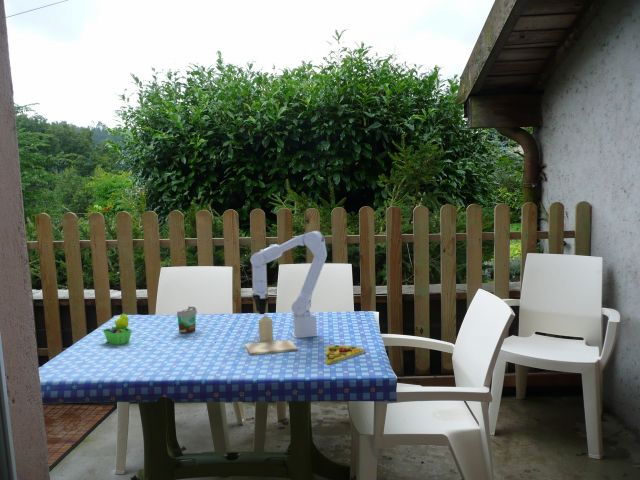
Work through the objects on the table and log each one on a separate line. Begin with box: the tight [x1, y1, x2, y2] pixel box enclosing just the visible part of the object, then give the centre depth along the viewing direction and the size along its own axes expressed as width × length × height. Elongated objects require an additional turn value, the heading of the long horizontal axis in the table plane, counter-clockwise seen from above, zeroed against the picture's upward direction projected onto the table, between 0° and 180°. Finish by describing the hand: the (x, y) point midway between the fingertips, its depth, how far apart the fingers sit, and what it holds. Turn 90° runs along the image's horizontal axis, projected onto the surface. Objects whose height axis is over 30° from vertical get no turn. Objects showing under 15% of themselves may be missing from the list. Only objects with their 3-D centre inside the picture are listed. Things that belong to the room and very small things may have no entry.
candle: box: [258, 315, 274, 343], centre depth 227 cm, size 6×6×10 cm
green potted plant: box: [102, 313, 133, 346], centre depth 232 cm, size 11×9×11 cm
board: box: [244, 339, 298, 356], centre depth 216 cm, size 18×14×1 cm
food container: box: [176, 305, 198, 335], centre depth 248 cm, size 12×6×10 cm, turn 168°
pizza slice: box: [325, 344, 366, 366], centre depth 202 cm, size 16×21×3 cm
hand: (260, 312), depth 238 cm, fingers open, 6 cm apart
